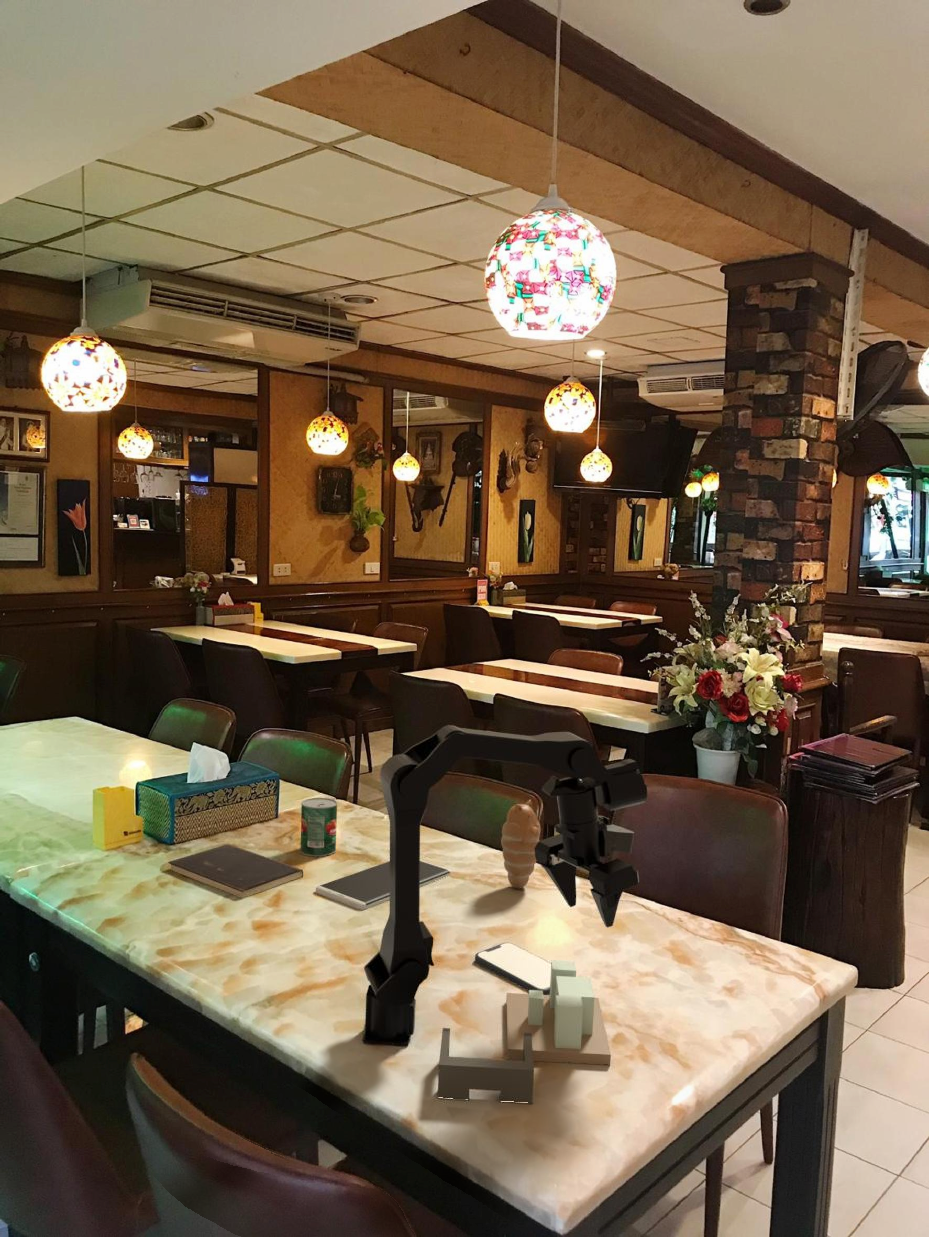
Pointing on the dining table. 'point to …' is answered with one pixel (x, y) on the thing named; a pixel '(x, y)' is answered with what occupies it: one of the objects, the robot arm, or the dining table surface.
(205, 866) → the hardcover book
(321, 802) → the canned tomato
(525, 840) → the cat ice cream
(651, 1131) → the dining table surface
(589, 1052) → the green blocks on base
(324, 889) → the smartphone
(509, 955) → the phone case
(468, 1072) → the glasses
